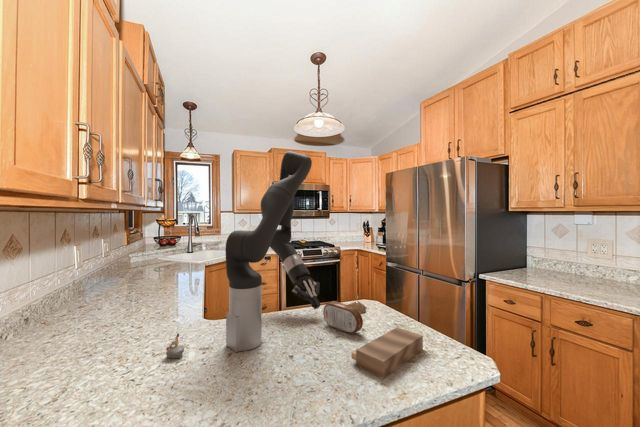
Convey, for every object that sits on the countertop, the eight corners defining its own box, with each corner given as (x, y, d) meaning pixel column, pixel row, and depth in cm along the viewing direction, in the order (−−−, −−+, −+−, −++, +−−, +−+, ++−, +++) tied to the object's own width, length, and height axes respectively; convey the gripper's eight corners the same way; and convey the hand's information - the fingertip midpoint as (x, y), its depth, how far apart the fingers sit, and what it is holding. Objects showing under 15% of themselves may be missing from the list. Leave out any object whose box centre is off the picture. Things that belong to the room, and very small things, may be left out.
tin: (363, 335, 88) (363, 308, 88) (357, 338, 85) (357, 310, 85) (327, 322, 98) (327, 298, 98) (321, 324, 96) (321, 300, 96)
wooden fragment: (354, 326, 95) (354, 323, 95) (324, 320, 100) (324, 318, 100) (373, 304, 118) (373, 301, 118) (348, 301, 123) (348, 298, 123)
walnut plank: (383, 379, 64) (383, 361, 64) (351, 363, 71) (351, 347, 71) (422, 349, 78) (422, 335, 78) (392, 338, 85) (392, 325, 85)
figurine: (184, 358, 73) (183, 334, 74) (165, 362, 71) (164, 338, 72) (184, 352, 77) (183, 330, 78) (166, 356, 76) (166, 333, 76)
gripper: (286, 265, 102) (309, 306, 93) (313, 261, 111) (335, 298, 103) (278, 277, 106) (298, 317, 97) (304, 272, 115) (325, 308, 106)
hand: (317, 307), depth 100 cm, fingers closed
